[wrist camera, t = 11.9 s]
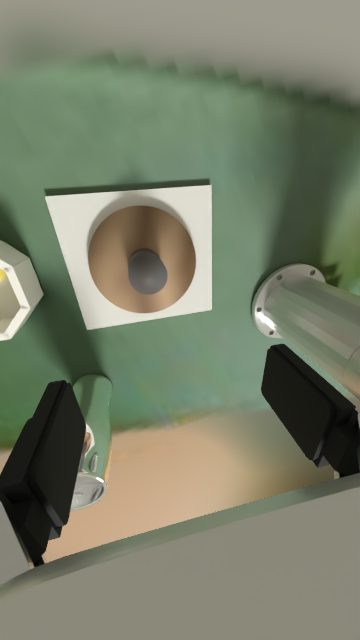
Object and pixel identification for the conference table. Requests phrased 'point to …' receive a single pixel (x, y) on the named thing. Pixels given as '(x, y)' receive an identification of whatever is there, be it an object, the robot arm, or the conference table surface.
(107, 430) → the beer glass
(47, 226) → the conference table surface
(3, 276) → the lemon
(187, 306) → the mat
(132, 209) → the lid
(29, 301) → the bowl
